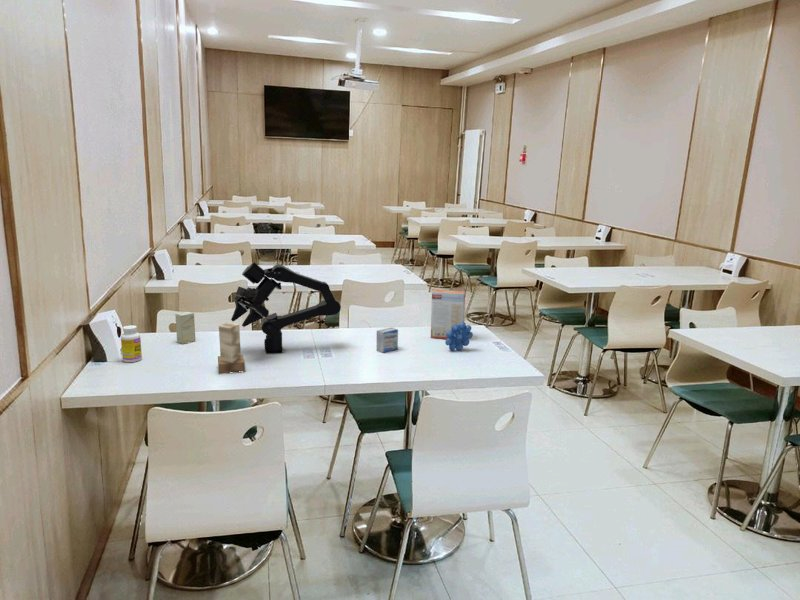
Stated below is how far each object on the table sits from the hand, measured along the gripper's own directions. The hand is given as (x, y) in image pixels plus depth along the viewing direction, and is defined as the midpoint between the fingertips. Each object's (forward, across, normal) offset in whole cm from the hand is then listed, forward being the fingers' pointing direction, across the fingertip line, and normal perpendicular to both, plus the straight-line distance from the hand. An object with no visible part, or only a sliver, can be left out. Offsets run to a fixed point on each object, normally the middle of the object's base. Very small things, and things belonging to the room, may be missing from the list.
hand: (237, 323), depth 223 cm
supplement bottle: (+33, -21, -13) cm, 41 cm away
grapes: (-44, +44, +63) cm, 88 cm away
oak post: (+12, +10, +2) cm, 16 cm away
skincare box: (+16, -31, +4) cm, 35 cm away
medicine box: (-27, +27, +46) cm, 60 cm away
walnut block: (+15, +10, +5) cm, 19 cm away
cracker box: (-50, +29, +69) cm, 90 cm away
